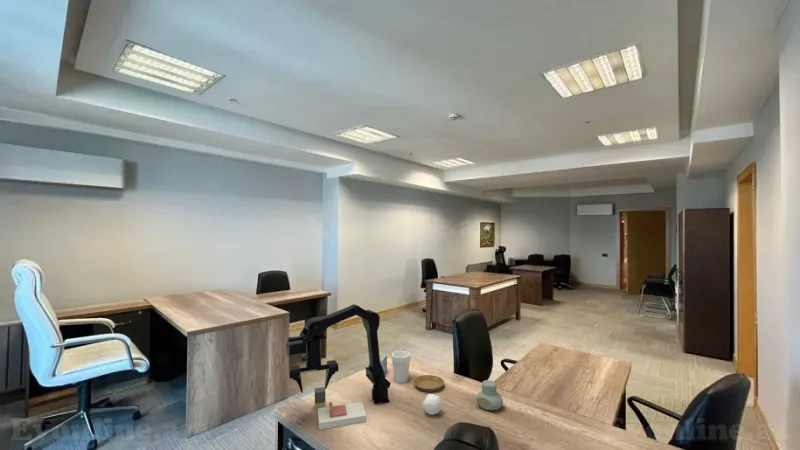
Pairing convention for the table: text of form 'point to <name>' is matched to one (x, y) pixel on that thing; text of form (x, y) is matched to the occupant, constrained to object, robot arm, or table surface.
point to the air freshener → (489, 396)
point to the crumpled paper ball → (432, 404)
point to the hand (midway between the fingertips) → (313, 390)
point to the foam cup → (400, 365)
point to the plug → (320, 397)
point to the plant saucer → (428, 383)
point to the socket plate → (353, 416)
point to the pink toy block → (337, 410)
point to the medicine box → (383, 362)
